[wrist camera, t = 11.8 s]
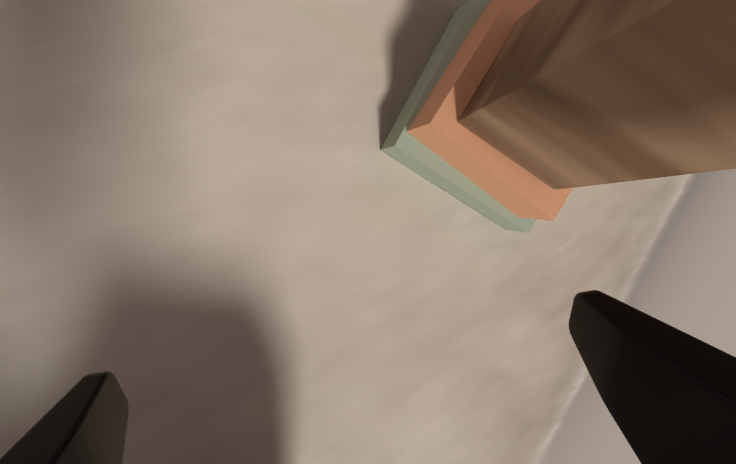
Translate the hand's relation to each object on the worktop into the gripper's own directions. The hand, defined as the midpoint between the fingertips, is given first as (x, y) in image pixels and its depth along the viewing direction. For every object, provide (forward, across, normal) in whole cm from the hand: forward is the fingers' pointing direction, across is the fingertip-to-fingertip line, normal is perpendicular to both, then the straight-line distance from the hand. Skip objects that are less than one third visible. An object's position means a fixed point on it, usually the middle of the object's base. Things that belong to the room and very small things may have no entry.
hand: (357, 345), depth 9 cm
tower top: (+14, -9, +1) cm, 17 cm away
